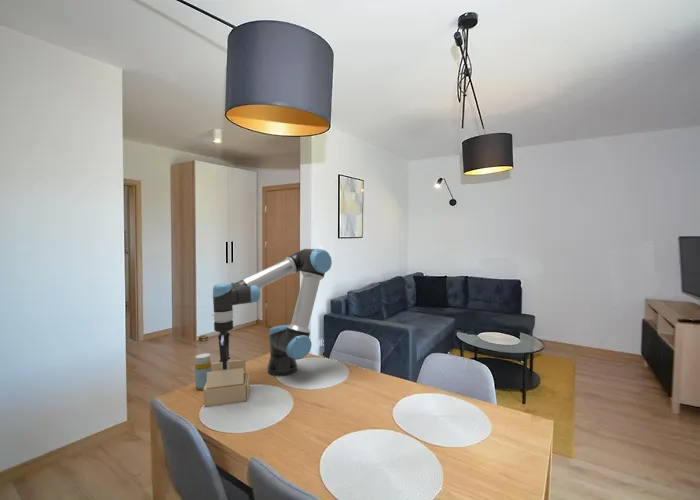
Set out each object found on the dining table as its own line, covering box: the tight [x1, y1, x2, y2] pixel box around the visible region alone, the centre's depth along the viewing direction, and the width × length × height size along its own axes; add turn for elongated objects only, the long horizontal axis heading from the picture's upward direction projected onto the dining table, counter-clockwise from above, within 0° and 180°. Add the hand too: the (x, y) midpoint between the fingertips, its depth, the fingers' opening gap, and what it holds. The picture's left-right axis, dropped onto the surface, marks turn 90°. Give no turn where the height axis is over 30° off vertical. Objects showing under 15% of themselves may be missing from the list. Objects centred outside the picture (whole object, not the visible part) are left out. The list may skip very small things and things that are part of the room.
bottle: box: [194, 352, 212, 391], centre depth 156 cm, size 7×7×15 cm
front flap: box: [207, 368, 244, 388], centre depth 141 cm, size 6×14×1 cm
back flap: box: [211, 359, 247, 373], centre depth 152 cm, size 6×14×1 cm
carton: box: [202, 371, 251, 408], centre depth 147 cm, size 17×14×7 cm
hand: (225, 375), depth 143 cm, fingers closed
